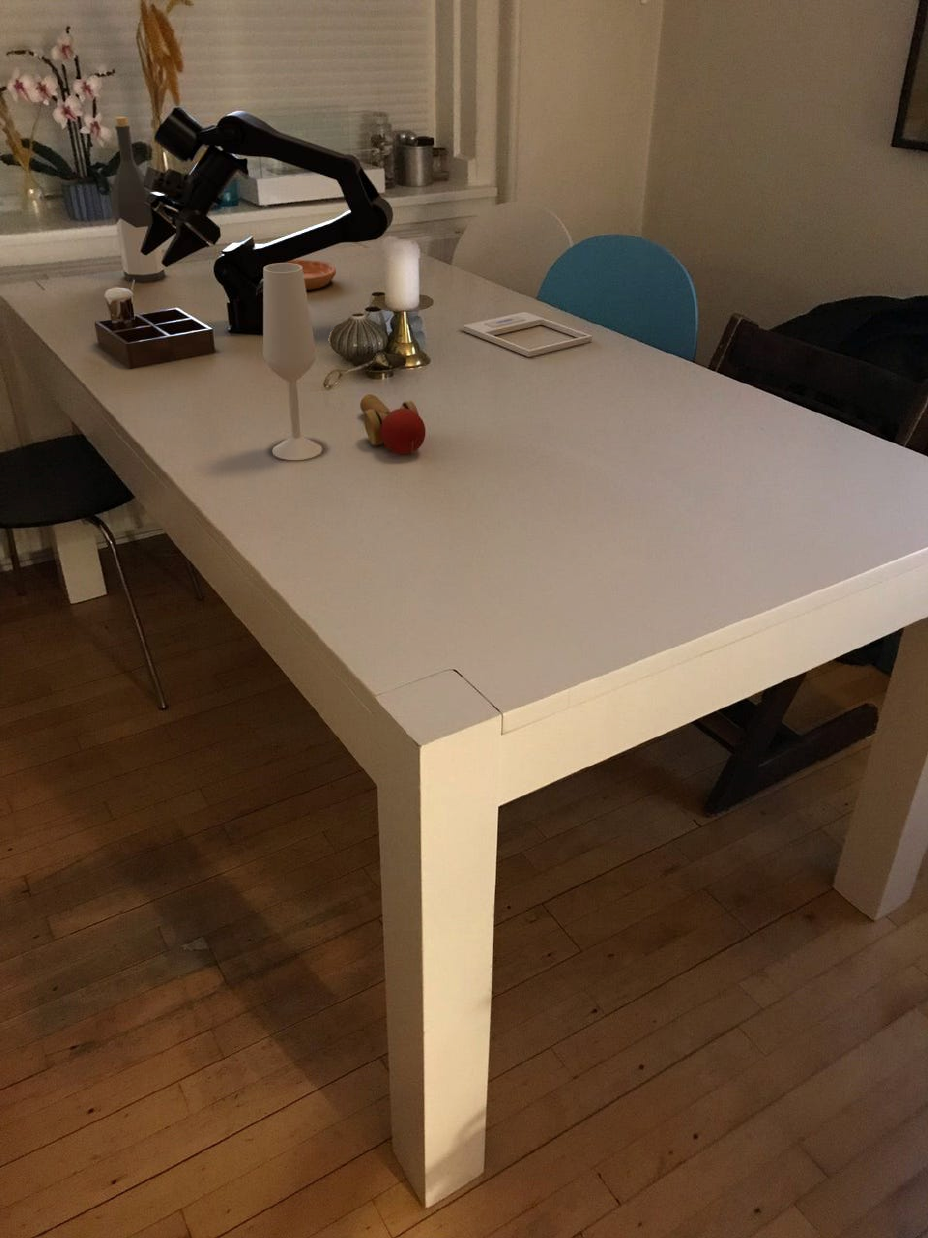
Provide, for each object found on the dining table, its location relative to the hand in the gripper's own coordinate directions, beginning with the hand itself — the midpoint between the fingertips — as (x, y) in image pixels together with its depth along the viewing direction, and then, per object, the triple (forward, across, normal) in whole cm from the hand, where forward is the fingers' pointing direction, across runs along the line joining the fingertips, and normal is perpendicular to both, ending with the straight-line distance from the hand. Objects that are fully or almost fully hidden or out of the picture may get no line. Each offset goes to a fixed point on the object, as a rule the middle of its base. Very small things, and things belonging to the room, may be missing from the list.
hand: (153, 259), depth 172 cm
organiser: (+12, +4, +8) cm, 14 cm away
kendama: (+3, +58, +16) cm, 60 cm away
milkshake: (+14, 0, +5) cm, 15 cm away
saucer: (-16, -20, +36) cm, 44 cm away
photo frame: (-28, +33, +48) cm, 65 cm away
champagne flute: (+12, +55, +7) cm, 57 cm away
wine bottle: (+1, -42, +19) cm, 46 cm away
